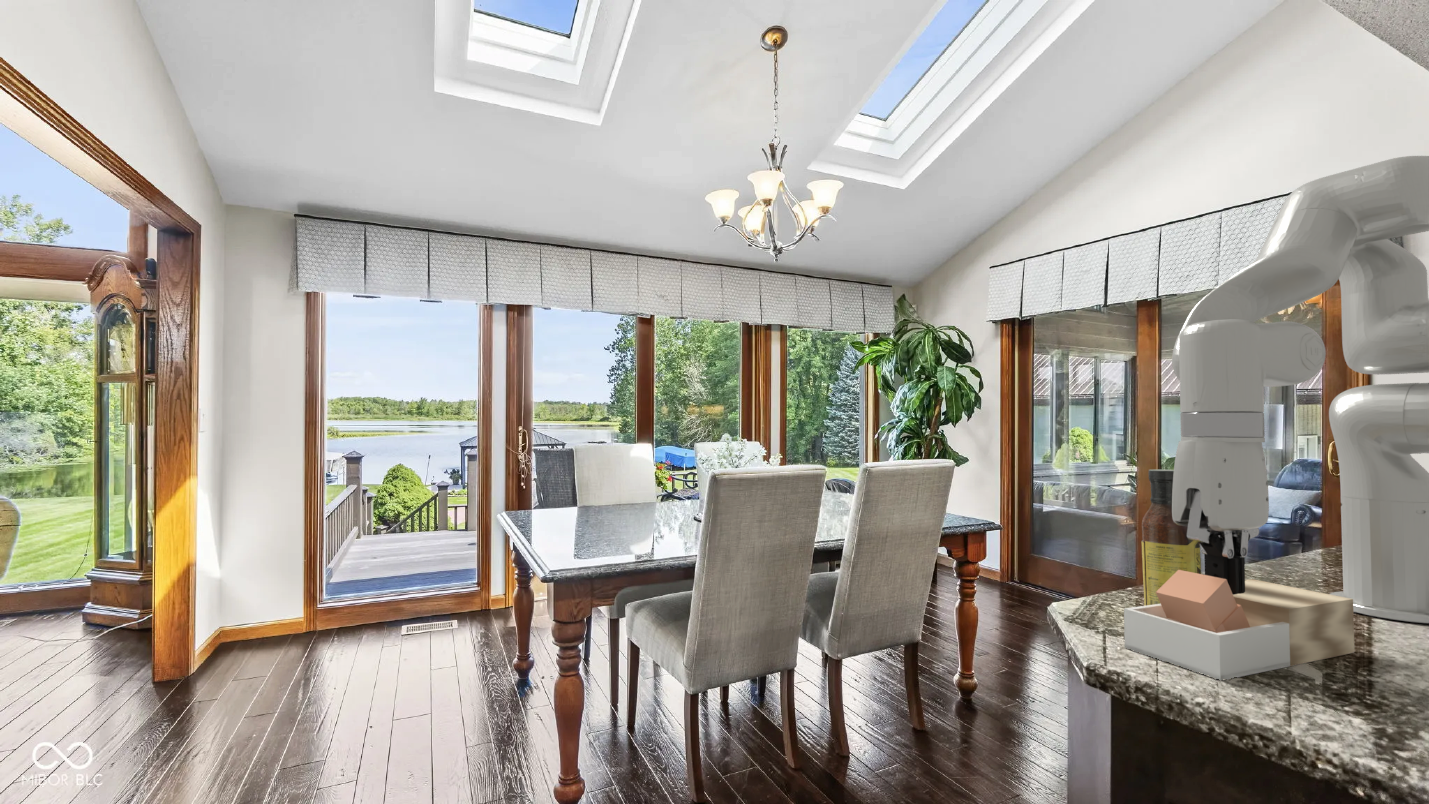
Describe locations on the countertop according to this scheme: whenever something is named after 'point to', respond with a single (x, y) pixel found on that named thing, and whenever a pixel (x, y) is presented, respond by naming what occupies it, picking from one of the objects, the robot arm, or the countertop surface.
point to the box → (1206, 644)
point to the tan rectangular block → (1302, 618)
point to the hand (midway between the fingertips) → (1224, 590)
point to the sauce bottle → (1164, 539)
